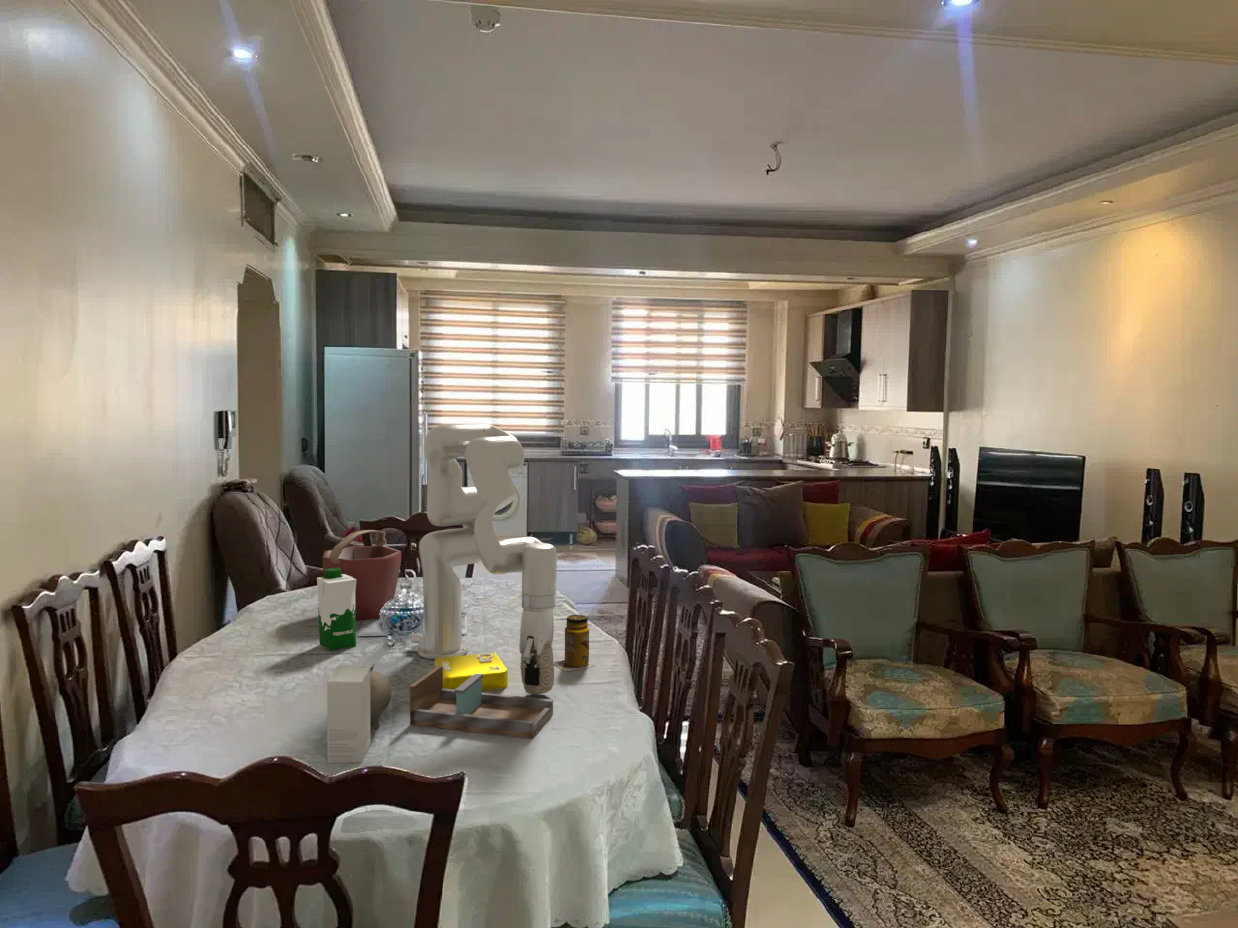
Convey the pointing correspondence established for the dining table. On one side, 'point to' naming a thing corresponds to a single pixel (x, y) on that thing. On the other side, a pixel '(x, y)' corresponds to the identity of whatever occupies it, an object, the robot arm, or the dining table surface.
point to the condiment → (576, 644)
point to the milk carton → (336, 610)
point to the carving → (541, 671)
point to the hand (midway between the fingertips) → (537, 678)
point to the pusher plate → (469, 694)
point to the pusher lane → (476, 710)
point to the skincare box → (348, 714)
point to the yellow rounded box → (473, 670)
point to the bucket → (367, 571)
